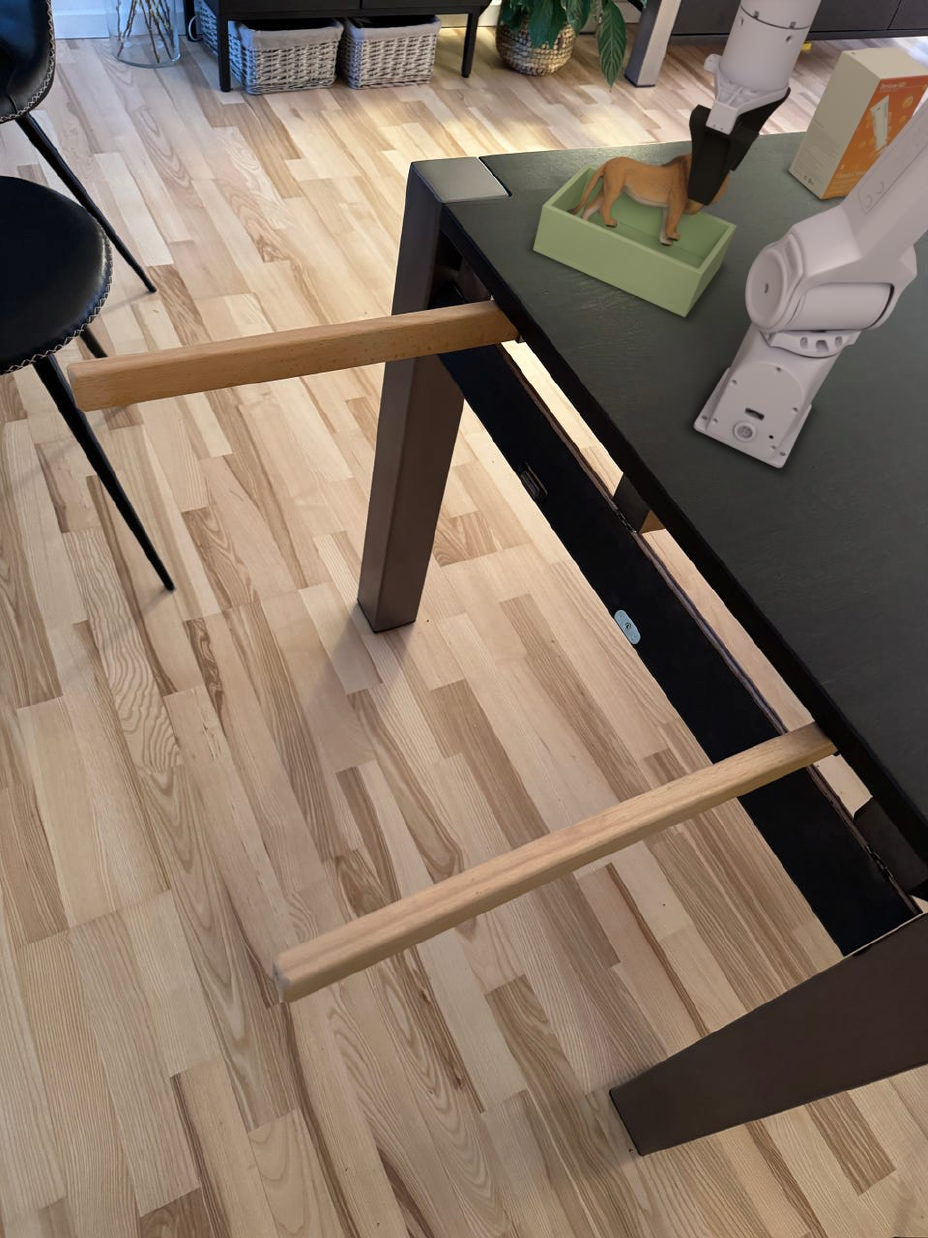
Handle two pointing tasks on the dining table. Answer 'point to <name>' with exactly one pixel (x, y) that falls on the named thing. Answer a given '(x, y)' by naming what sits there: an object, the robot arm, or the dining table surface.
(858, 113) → the small box
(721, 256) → the bin
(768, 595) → the dining table surface
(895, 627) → the dining table surface
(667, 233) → the lion figurine
